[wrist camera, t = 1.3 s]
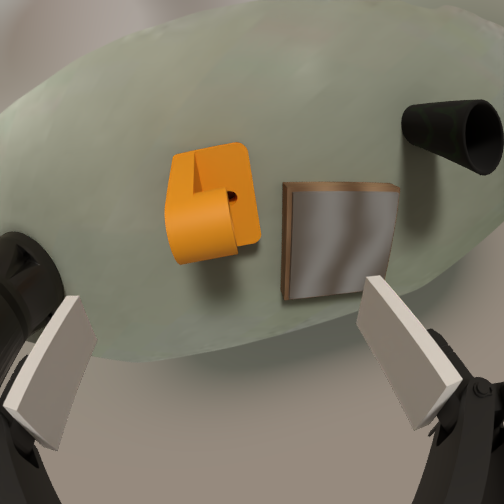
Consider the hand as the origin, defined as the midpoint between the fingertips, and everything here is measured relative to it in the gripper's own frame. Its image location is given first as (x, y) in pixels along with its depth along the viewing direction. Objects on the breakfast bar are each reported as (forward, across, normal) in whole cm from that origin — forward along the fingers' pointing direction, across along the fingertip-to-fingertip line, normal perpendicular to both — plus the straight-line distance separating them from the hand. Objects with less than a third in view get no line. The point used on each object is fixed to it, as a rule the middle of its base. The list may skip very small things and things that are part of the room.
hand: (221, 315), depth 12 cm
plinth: (+21, +14, -6) cm, 26 cm away
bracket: (+21, 0, 0) cm, 21 cm away
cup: (+21, +25, +9) cm, 34 cm away
